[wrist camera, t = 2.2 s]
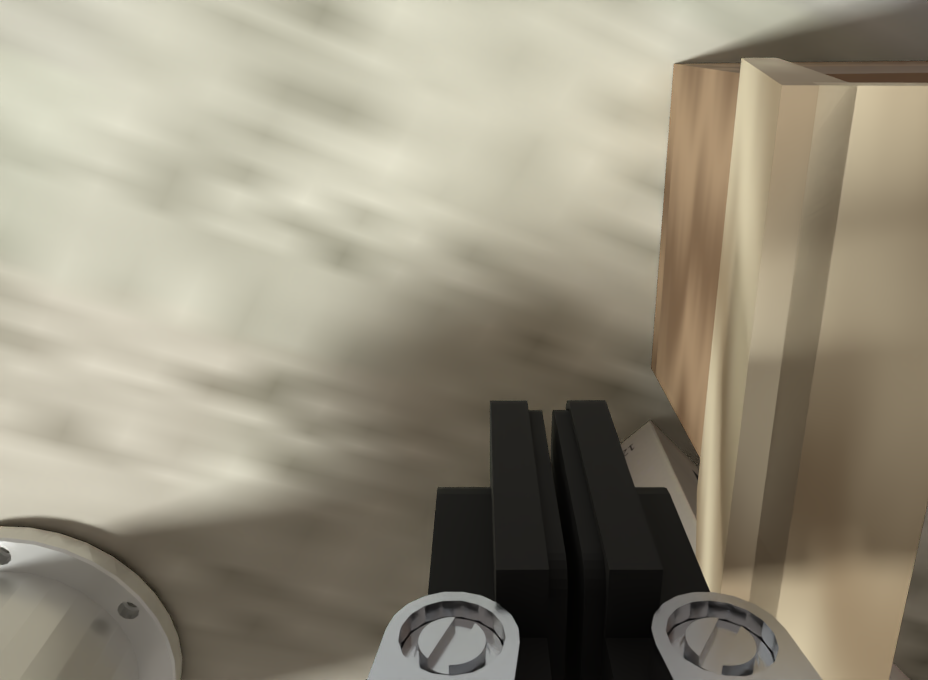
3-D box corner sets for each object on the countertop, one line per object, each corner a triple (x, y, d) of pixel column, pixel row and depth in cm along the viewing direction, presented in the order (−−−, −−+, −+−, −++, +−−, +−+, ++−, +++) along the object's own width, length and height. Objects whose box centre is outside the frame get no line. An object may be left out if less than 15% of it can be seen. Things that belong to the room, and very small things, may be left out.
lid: (848, 862, 13) (692, 826, 13) (785, 503, 23) (696, 491, 23) (1019, 85, 9) (782, 85, 9) (851, 57, 19) (741, 58, 19)
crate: (914, 365, 31) (1056, 471, 23) (650, 368, 31) (708, 473, 23) (975, 60, 27) (1169, 69, 19) (673, 64, 27) (752, 74, 20)
